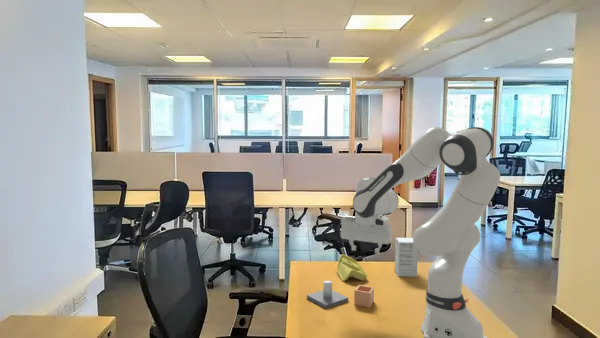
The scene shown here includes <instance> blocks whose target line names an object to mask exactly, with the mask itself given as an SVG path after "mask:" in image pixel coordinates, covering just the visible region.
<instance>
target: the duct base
mask: <svg viewBox="0 0 600 338" xmlns="http://www.w3.org/2000/svg"><path fill="white" fill-rule="evenodd" d="M322 285H323V286H322V287H323V288H322V290H320V291H316V292H312V293H310V294H307V295H306V299H308V300H309V301H311V302H313V303H314V304H317V306H320V307H322V308H324V309H329V308H332V307H335V306H336V307H337V306H338V305H341V304H344V303H348V302H349V297H347V296H345V295H343V294H341V293H339V292H337V291H335V290H333V282H332V281H331V280H324V281H323V284H322Z"/></svg>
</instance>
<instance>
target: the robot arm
mask: <svg viewBox="0 0 600 338" xmlns="http://www.w3.org/2000/svg"><path fill="white" fill-rule="evenodd" d="M493 147H494V137H493V135H492V133H491V132H490V131H488V130H487V129H486V128H484V127H479V126H475V127H468V128H465V129H461V130H457V131H456V132H455V133H453V134H452V133H450V132H448V131H447V130H446V129H444V128H442V127H440V126H439V127H438V126H434V127H433V126H432V127H431V128H429V129H427V130H426V131H425V132H423V133H422V134H421V135H420V136H419V137H418V138H416V140H414V142H413V143H412V144H411V145H410V146H409V147H408V148H407V150H406V151H404V153H403V154H402V155H401V156H400V157H399V158H397V159H396V160H395V161H393V163H391V164H390V165H389V166H388V167H386V168H385V169H384V170H383V171H382V172H381V173H380V174H379V175H378V176H377V177H364V178H361V179H359V180H358V181H357V183H356V189H355V195H354V197H353V200H352V208H353V210H354V211H355V212H354V214H355V216H348V215H345V216H343V217H341V219H340V225H341V229H340V238H341V239H343V240H348V243H349V245H350V247H351V251H352V252H355V251H357V245H355V244H354V241H359V242H367V243H373V244H377V246H378V247H377V248H375V249H374V254H375V255H379V254H380V249H381V248H382V246H383V245H390V243H392V241H393V235H392V234H393V233H392V232H393V231H392V226H391V225H390V217H387V216H385V215H387V214H392V213H394V212H395V211H396V210H397V209H398V207H399V204H400V203H399V197H398V194H397V192H396V191H395V190H393V188H395V187H397V186H399V185H402V184H405V183H409V182H412V181H418V180H422V179H424V178H425V177H427V176H428V175H430V174H431V173H432V172H433V171H434V170H436V169H437V167H438V166H439V165H440V164H441V163H442V164H444V165H445V166H446V167H447V168H448V169H450V170H452V171H453V173H455V174H456V175H458V176H460V177H459V179H458V181H457V182H456V185H455V186H454V189H453V190H452V192H451V194H450V195H449V197H448V199H447V201H446V202H445V204H444V205H443V206H442V207H441V208H440V209H439V210H438V211H437V212H436V213H435V214H434V215H433V216H431V218H430V219H429V220H428V221H426V222H424V224H423V223H422V225H421V226H418V227H417V228H416V229H415V230H414V232H413V236H412V238H413V243H414V246H415V248H416V249H417V251H418V254H419V253H420V255H423V256H431V257H432V256H433V257H437V258H436V259H435V261H433V263H432V264H431V265H430V266H429V268H428V274H427V275H428V276H427V277H428V279H427V289H426V290H425V291H426V292H425V293H426V294H425V301H426V308H425V313H424V318H423V320H422V324H421V326H420V329H421V332H422V333H423V337H424V338H488V337H487V336H485V335H484V329H483V325H482V323H481V321H480V320H479V319H478V318H477V317H476V316H475V315H474V314H473V313H472V311H470V309H469V308H468V307H467V303H469V298H466V299H464V295H463V293H462V292H463V290H462V287H463V275H464V270H465V267H466V264H467V262H468V259H469V257H470V255H471V253H472V252H473V251H474V249H475V248H476V247H477V246H478V245H479V243H480V241H481V232H480V230H479V229H480V228H478V226H477V225H476V223H477V222H478V221H479V219H480V218H481V216H482V215H483V213H484V212H485V210H486V209H487V207H488V205H489V203H490V202H491V200H492V198H493V196H494V195H495V192H496V191H497V188H498V186H499V183H500V180H501V173H500V170H499V168H497V167H496V165H494V164H493V163H491V162H489V161H488V159H487V157H488V156H489V155H490V153H492V151H493Z"/></svg>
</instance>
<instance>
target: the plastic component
mask: <svg viewBox="0 0 600 338" xmlns="http://www.w3.org/2000/svg"><path fill="white" fill-rule="evenodd" d="M336 271H337V275H338V276H339V278H340V280H341V282H346V281H347V280H348V279H349V278H350V277H353V278H354V279H357V280H360V281H361V282H362V281H365V280H366V278H367V276H368V274H367V272H366V271H365V269H364V267H362V265H361V263H359V262H358V261H357V260H356V259H354V258H352V257H351V256H348V255H346V254H344V253H343V254H341V255H340V257H339V258H338V262H337V267H336Z"/></svg>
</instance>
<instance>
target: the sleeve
mask: <svg viewBox="0 0 600 338" xmlns="http://www.w3.org/2000/svg"><path fill="white" fill-rule="evenodd" d="M353 297H354V299H353V300H354V302H353V303H354V304H353V305H354V306H359V307H363V308H364V307H365V308H371V307H372V305H373V303H374V301H375V287H374V286H367V285H363V284H358V285H357V287H356V288H355V289H354V295H353Z"/></svg>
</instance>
